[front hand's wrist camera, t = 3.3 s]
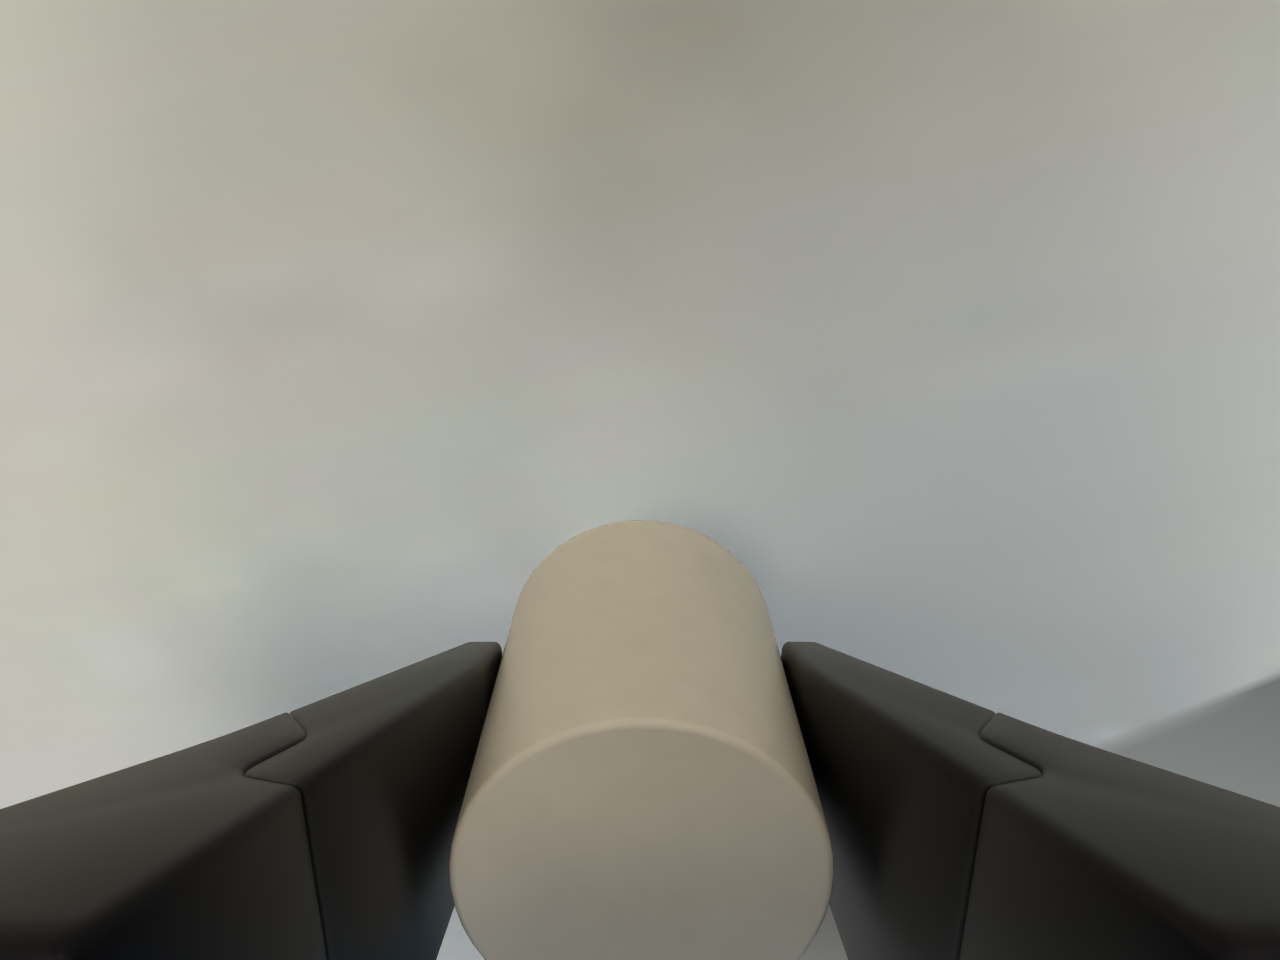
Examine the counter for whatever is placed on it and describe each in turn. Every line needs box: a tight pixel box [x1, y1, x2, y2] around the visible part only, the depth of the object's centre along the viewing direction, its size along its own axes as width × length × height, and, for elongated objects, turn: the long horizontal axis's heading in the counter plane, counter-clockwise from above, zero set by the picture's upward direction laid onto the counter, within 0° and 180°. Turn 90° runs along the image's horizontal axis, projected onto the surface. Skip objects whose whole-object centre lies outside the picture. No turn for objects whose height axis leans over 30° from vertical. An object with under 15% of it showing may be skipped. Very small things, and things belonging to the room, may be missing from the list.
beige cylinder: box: [449, 520, 834, 960], centre depth 10 cm, size 4×4×4 cm
